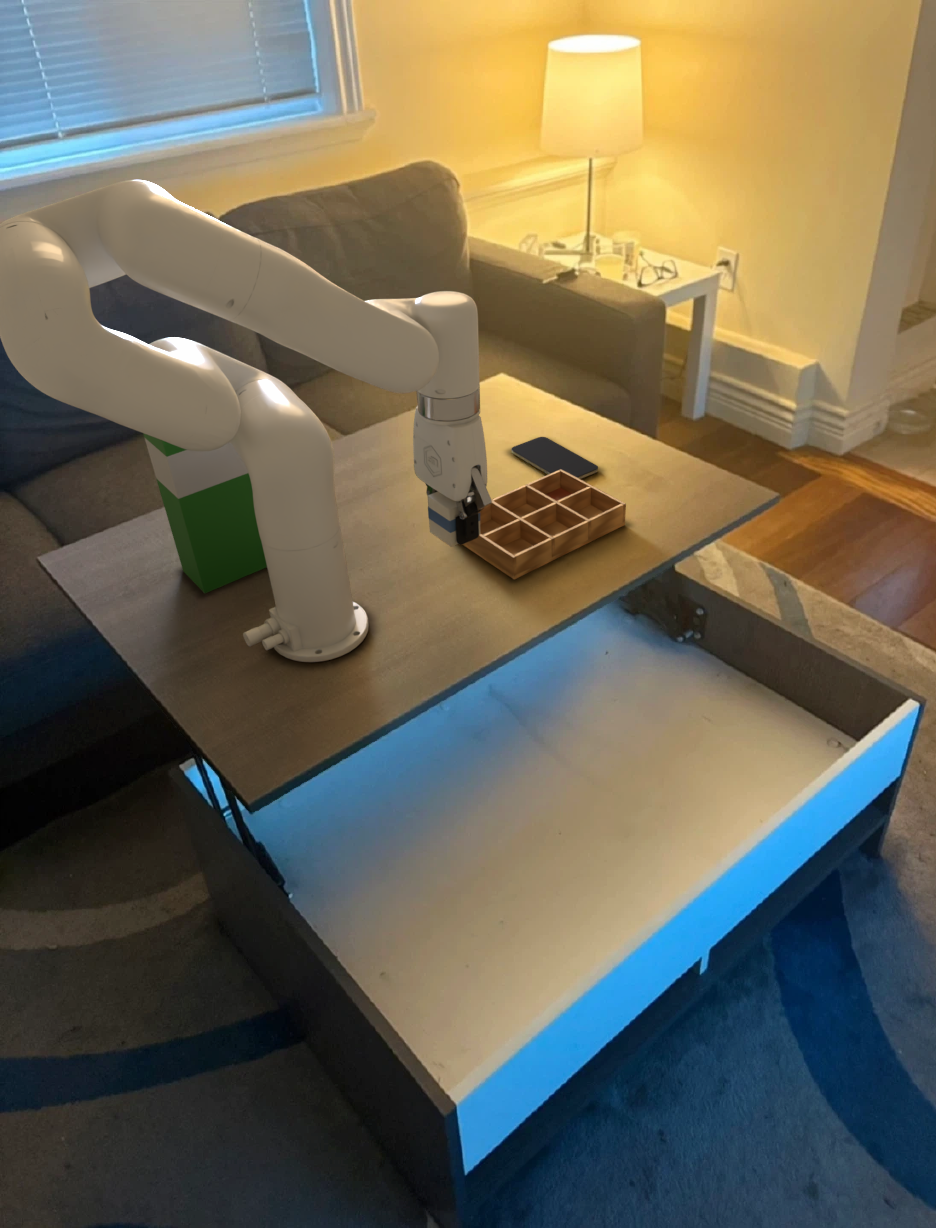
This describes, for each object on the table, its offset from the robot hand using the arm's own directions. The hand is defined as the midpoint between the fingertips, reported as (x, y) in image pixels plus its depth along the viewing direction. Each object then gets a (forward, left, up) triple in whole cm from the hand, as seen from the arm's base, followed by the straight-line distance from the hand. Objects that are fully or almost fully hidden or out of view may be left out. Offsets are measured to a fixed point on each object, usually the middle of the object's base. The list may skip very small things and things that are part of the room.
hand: (454, 530), depth 124 cm
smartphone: (+32, +17, -9) cm, 38 cm away
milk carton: (0, 0, 0) cm, 0 cm away
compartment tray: (+17, +3, -9) cm, 19 cm away
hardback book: (-19, +25, -9) cm, 33 cm away
